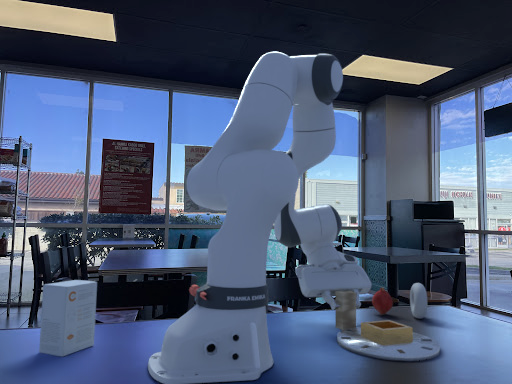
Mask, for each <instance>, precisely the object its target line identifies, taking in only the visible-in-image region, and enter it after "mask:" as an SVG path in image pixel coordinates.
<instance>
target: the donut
mask: <svg viewBox="0 0 512 384" xmlns="http://www.w3.org/2000/svg"><path fill="white" fill-rule="evenodd" d="M409 305H410V311H411V314H412V316H413V317H414V318H416V319H419V320H420V319H421V320H422V319H423V318H425V316H426V314H427V311H428V293H427V290H426V287H425V286H424V284H422V283H420V282H415V283H413V284H412V286H411V288H410V293H409Z"/></svg>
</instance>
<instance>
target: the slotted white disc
mask: <svg viewBox="0 0 512 384" xmlns="http://www.w3.org/2000/svg"><path fill="white" fill-rule="evenodd" d="M336 339H337V340H336V341H337V344H338V345H339V346H340V347H341V348H343V349H344V350H347V351H349V352H351V353H354V354H358V355H360V356H364V357H368V358H373V359H379V360H386V361H398V362H417V361H418V362H419V360H420V361H426V359H427V360H430V359H434V358H435V357H438V356H439V355H440V343H439V342H437V341H436V340H435V339H433V338H432V337H429V336H427V335H424V334H421V333H419V332H415V331H413V326H410V325H406V324H403V323H400V322H396V321H393V320H390V319H386V320H376V321H375V320H374V321H362V322H360V326H358V327H357V326H356V328H349V329H345V330H340V331H339V332H338V333H337V336H336Z"/></svg>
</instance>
